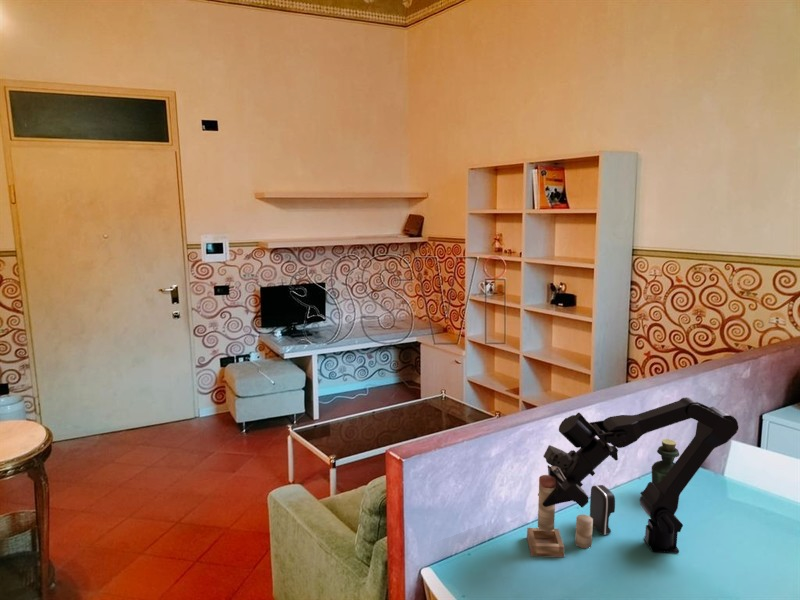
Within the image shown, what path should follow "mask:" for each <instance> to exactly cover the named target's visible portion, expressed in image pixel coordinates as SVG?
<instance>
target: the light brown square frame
mask: <svg viewBox="0 0 800 600" xmlns="http://www.w3.org/2000/svg"><path fill="white" fill-rule="evenodd" d="M526 532H527V534H526V540H527V545H528V548H529V553H530V557H544V558H545V557H547V558H549V557H550V558H551V557H552V558H564V557H565V544H564V542H563V539H562V538H563V537H562V536H561V532H560V530H559V528H554V529H553V530H552V531H543V530H541V529H539V528H538V527H527V531H526Z"/></svg>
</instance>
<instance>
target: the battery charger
mask: <svg viewBox="0 0 800 600" xmlns="http://www.w3.org/2000/svg"><path fill="white" fill-rule="evenodd" d="M589 499H590V501H589V516H590V517H591V518H592V519H593V528H595V530H597V531H598V533H599V534H600V535H604V536H605V535H609V534H611V533H612V530H611V528H610V527H609V520H610V516H611V515H612V514H613V513H615V511H616V497H615V495H614V493H613V492H612V491H611V490H610V489H608V488H607V487H606V486H605V485H603V484H599V485H598V484H594V485H592V487H591V488H590V497H589Z"/></svg>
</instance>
